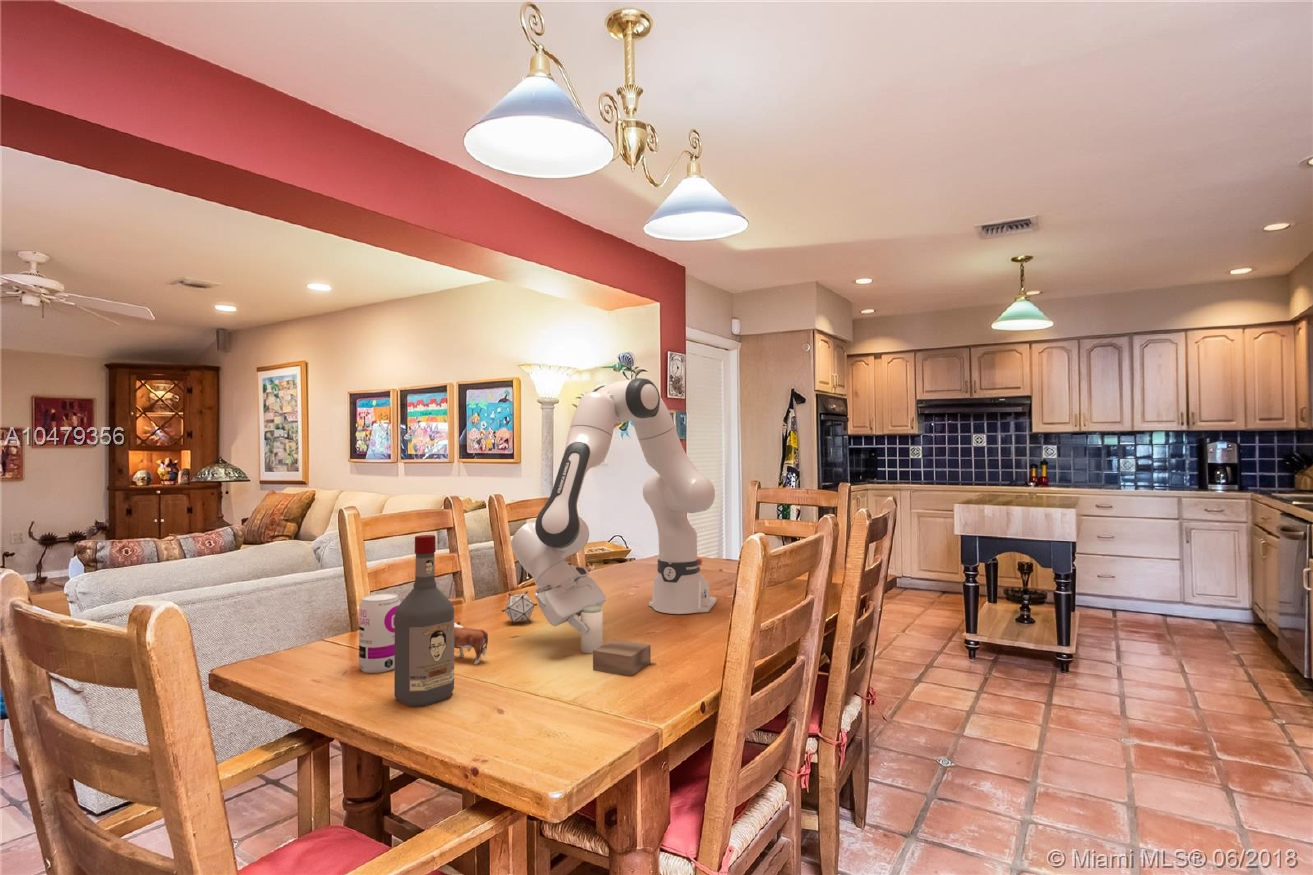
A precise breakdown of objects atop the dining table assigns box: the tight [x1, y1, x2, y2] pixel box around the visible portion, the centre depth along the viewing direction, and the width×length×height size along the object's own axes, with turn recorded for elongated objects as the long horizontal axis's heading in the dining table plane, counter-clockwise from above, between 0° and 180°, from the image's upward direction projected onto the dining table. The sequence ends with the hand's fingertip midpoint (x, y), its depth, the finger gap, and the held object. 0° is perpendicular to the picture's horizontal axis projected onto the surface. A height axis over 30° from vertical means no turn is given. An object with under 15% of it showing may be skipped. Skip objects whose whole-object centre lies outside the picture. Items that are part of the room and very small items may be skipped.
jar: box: [580, 605, 604, 654], centre depth 152 cm, size 5×5×10 cm
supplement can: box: [358, 592, 402, 674], centre depth 140 cm, size 8×8×15 cm
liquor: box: [393, 534, 455, 707], centre depth 124 cm, size 9×9×30 cm
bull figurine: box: [454, 621, 489, 665], centre depth 145 cm, size 4×14×8 cm, turn 59°
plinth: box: [592, 638, 652, 677], centre depth 140 cm, size 9×9×4 cm
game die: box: [501, 590, 539, 626], centre depth 176 cm, size 9×8×10 cm
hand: (593, 628), depth 151 cm, fingers closed on jar, 5 cm apart
